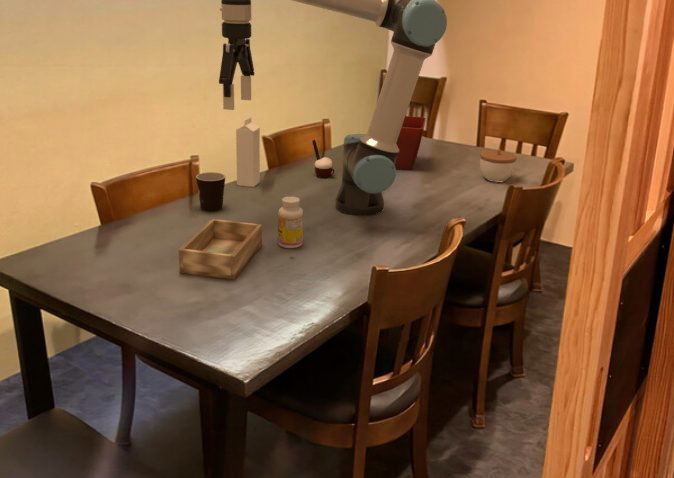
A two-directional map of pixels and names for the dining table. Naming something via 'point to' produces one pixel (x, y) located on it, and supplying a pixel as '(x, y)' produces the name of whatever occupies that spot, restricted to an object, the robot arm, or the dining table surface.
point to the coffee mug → (211, 190)
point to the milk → (248, 154)
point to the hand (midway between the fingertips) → (237, 104)
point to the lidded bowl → (497, 165)
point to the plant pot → (409, 141)
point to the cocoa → (322, 164)
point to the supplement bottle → (290, 223)
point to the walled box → (220, 249)
